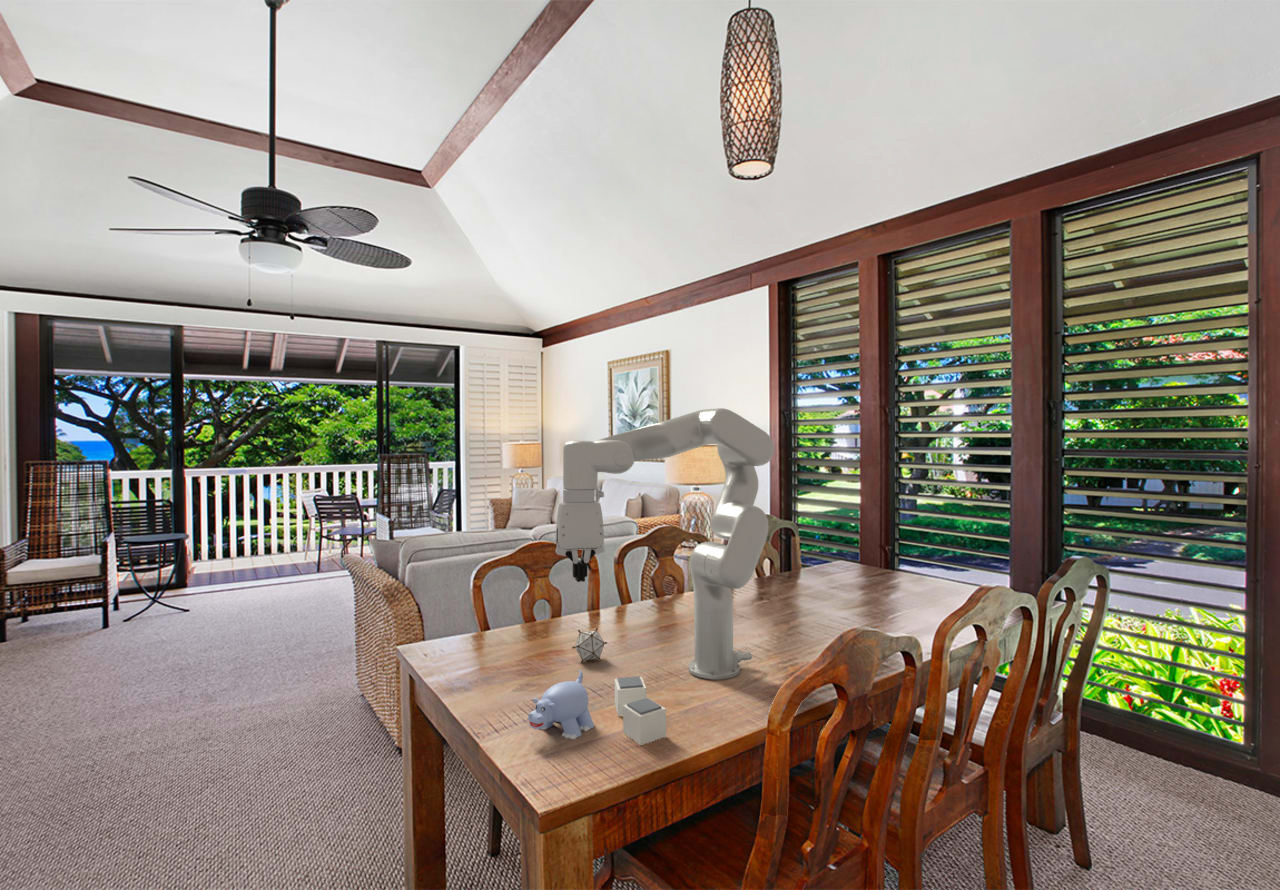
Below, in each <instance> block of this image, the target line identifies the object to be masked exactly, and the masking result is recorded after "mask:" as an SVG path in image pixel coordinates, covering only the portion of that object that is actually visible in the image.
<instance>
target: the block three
mask: <svg viewBox="0 0 1280 890" xmlns="http://www.w3.org/2000/svg"><path fill="white" fill-rule="evenodd" d="M613 682H614V707H615V706H616V707H615V710H616V715H617V717H622V716H621V715H623V705H627V704H628V703H632V702H635V701H638V700H642V699H645V698H647V687H646V686H647V685H645V681H644V679H643V677H642V676H639V675H638V676H627V677H625V676H624V677H617V678H614V681H613Z"/></svg>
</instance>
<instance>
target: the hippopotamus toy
mask: <svg viewBox="0 0 1280 890" xmlns="http://www.w3.org/2000/svg"><path fill="white" fill-rule="evenodd" d="M578 672H579V674H578V676H577V678H576V680H575V681H573V680H568V681H562V682H558V683H556V684H554V685H552V686H551V687H550V686H549V687H548V689H547V690H546V691H545V692H544V693H543V695H542V697H541V699H539V698H537V697H534V698H533V699H532V700H533V701H532V702H533V704H535V706H534V710H532V711H531V712H529V713H528V716H527V720H528V725H529V727H531V728H532V729H533V730H545V731H546V730H547V729H549V728H551V727H553V725H554V723H560V725H561V727H562V730H563V732H562V734H561V737H564V738H565V739H570V740H572V741H573V740H576V739H578V738H579V737H581V736H582V731H583V732H588V731H590V730H592V729H593V728H594V727H595V724H594V721H593V718H592V716H591V715H592V714H591V713H590V711H589V709H588V707H589V693H588V691H587V689H586V687H584V685H583V684H582V683H583V679H584V674H583V670H581V669H578Z"/></svg>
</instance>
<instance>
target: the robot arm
mask: <svg viewBox="0 0 1280 890" xmlns="http://www.w3.org/2000/svg"><path fill="white" fill-rule="evenodd" d="M707 445H708V446H709V445H717V446H716V448H717V453H718V456H719V459H720V460H721V463H722V465H723V468H724V472H725V481H724V484H723V487H722V489H721V490H722V491H721V492H720V496H719V497H718V500H717V503H716V505H715V508H714V509H713V513H712V515H711V519H710V530H711V532H712V533H713V534H714V535H715V536H716V537H718V538H719V539H722V540H725V541H727V544H723V543H720V542H717V541H716V542H715V541H704V542H701V543H699V544H697V545H696V546H695V547H694V548H693V550H692V552H691V554H690V557H689V570H690V575H691V576H690V577H691V580H692V587H693V588H692V589H693V619H694V620H693V623H694V624H693V625H694V628H693V631H694V633H693V636H694V659H693V660H691V661H690V662H689V664H688V672H689V673H690V674H691V675H693V676H695V677H697V678H701V679H705V680H715V681H716V680H727V679H731V678H734V677H736V676H737V675H739V674H740V672H741V666H740V664H739V663H741V662H742V661H744V662H745V661H750V660H752V653H751V652H750V651H745V652H744V651H743V652H742V650H740V649H739V650H734V601H733V599H734V598H733V593H732V590H737V589H741V588H743V587H745V586H746V585H747V584H748V583H749V582H750V581H751V578H752V577H753V575H754V573H755V570H756V568H757V564H758V563H759V560H760V557H761V554H762V552H763V550H764V546H765V544H766V541H767V538H768V535H769V520H768V517H767V514H766V513H765V511H764V510H763V509H762V508H760V507H758V506H756V505H754V504H755V501H756V498H757V495H758V491H759V477H758V473H757V470H756V468H755V467H761V466H764V465H766V464H768V463H769V462H770V461H771V460H772V459H773V456H774V453H775V444H774V441H773V439H772V437H771V435H769V434H768V433H767V432H766V431H764V430H763V429H761V428H760V427H758V426H757V425H755V424H754V423H752V422H750V421H749V420H748V419H745V418H744V417H743V416H741V415H739V414H737V413H736V412H734V411H732V410H730V409H728V408H721V407H720V408H708V409H707V408H706V409H700V410H696V411H693V412H689V413H687V414H684V415H680V416H677V417H674V418H670V419H667V420H664V421H663V420H662V421H659V422H656V423H652V424H648V425H645V426H642V427H639V428H635V429H632V430H629V431H623V432H620V433H617V434H612V435H610V436H607V437H604V438H603V437H602V438H600V439H598V440H595V441H590V440H569V441H566V442H565V443H564V445H563V449H562V450H563V451H562V452H563V453H562V464H563V465H562V468H563V469H562V486H563V487H562V502H560V503H559V504H558V509H557V516H556V525H555V543H556V548H555V553H556V555H558V556H561V557H562V556H563V557H567V558H568V559H569V560H570V561H571V562H572V578H574V580H575V581H576V582H577V583H580V582H583V583H584V582H586V578H587V577H588V563H589V562H590V560H591V559H593V557H594V556H595V555H598V554H602V553H604V552H605V547H604V541H605V534H604V533H605V532H604V519H603V511H602V510H603V509H602V506H601V502H598V501H599V499H601V498H604V496H605V493H604V490H603V491H601V490H599V488H598V486H599V485H598V477H599V476H598V473H604V474H605V473H606V474H613V475H619V474H620V475H621V474H624V473H626V472H627V471H629V470H630V469H631V468H632V467H634V463H635V462H640V461H643V460H658V459H665V458H671V457H674V456H677V455H680V454H684V453H685V452H689V451H692V450H694V449H697V448H701V447H704V446H707ZM578 550H582V551H581V558H580V559H579V555H578Z"/></svg>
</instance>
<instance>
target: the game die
mask: <svg viewBox="0 0 1280 890" xmlns="http://www.w3.org/2000/svg"><path fill="white" fill-rule="evenodd" d="M598 630H599V629H598V627H596V628H595V630H587V631H581V629H578V630H577V632H578V633H579V634H578V637H577V639H576V642H575V645H574V646H572V647H571V649H575V651H576V652H577V655H578V656H579V657H580V659H581V661H580V664H581V663H582V664H583V663H584V661H591V660H597V659H598V661H599V660H601V661H602V659H601V654H602V652H603V649H604V647H605V645H607V644H608V642H607V641H604V639H603V638H602V636H601V635H600V633H599V632H598Z"/></svg>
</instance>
